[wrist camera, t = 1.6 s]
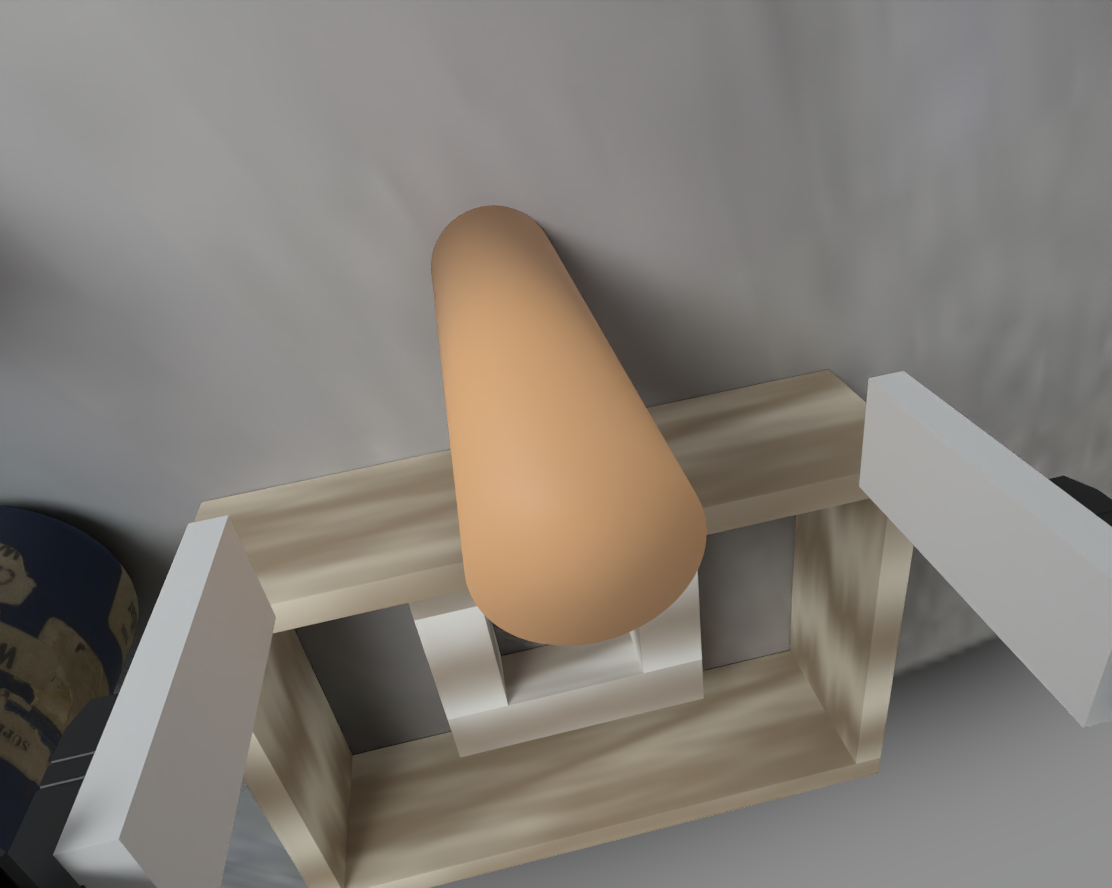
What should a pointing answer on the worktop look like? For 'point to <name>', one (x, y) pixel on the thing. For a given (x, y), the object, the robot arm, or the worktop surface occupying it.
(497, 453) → the peg
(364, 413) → the worktop surface
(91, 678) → the canister
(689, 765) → the open box
